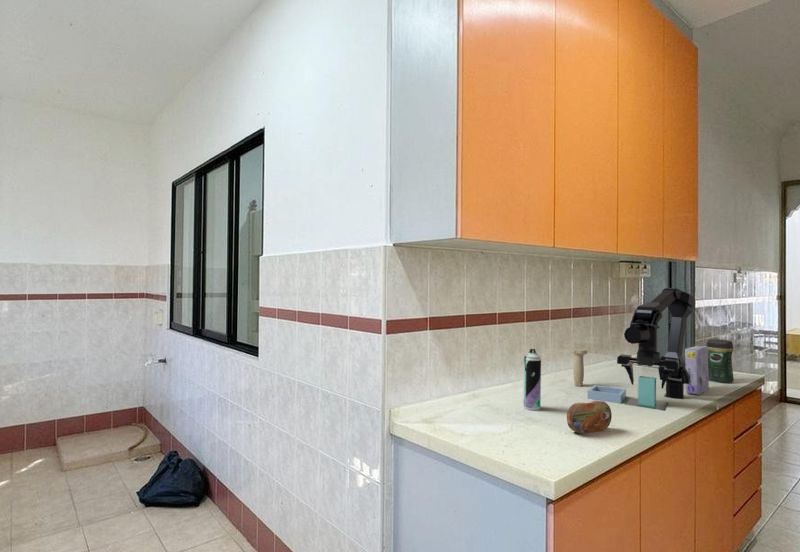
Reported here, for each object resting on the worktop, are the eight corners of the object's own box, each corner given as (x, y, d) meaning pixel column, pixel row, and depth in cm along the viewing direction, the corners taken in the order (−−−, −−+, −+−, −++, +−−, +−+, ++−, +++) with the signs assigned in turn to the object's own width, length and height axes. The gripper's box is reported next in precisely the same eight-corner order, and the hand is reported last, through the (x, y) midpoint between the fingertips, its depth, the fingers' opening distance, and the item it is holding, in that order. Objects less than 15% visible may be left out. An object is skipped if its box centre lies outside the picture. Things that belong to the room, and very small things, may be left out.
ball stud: (630, 399, 167) (630, 382, 167) (668, 404, 160) (668, 387, 161) (625, 406, 158) (625, 388, 158) (665, 412, 151) (665, 393, 151)
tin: (572, 435, 126) (573, 405, 126) (564, 432, 129) (564, 402, 129) (612, 429, 132) (612, 400, 132) (603, 426, 135) (604, 398, 135)
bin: (594, 394, 174) (594, 385, 174) (625, 398, 168) (626, 389, 168) (587, 400, 165) (587, 390, 165) (620, 405, 159) (620, 395, 159)
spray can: (531, 411, 149) (532, 350, 150) (520, 407, 154) (520, 348, 154) (543, 409, 152) (544, 349, 152) (532, 405, 157) (532, 347, 157)
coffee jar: (736, 382, 201) (736, 340, 201) (727, 384, 196) (728, 341, 197) (712, 378, 209) (712, 337, 209) (703, 379, 205) (703, 338, 205)
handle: (581, 388, 184) (582, 351, 185) (568, 384, 190) (568, 348, 190) (589, 386, 187) (589, 350, 187) (575, 383, 192) (575, 348, 193)
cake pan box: (696, 386, 191) (696, 344, 192) (710, 388, 188) (710, 345, 188) (684, 393, 178) (684, 348, 178) (699, 396, 174) (699, 350, 174)
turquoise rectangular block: (639, 401, 162) (640, 375, 163) (655, 403, 160) (656, 377, 160) (637, 404, 158) (638, 378, 159) (654, 406, 156) (654, 380, 156)
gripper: (614, 341, 158) (613, 386, 158) (677, 346, 147) (676, 395, 147) (620, 338, 167) (619, 381, 167) (679, 343, 157) (679, 388, 156)
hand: (647, 386), depth 159 cm, fingers open, 9 cm apart
